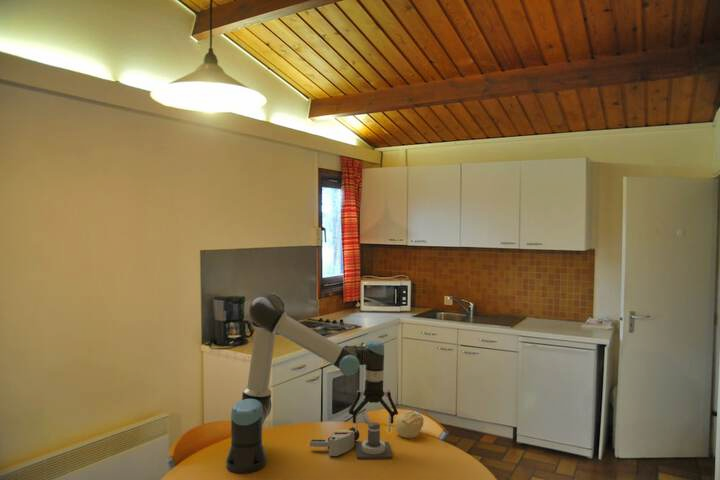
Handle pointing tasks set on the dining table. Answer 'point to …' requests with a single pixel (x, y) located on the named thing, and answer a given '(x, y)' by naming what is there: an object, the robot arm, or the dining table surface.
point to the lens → (373, 435)
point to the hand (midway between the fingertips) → (372, 431)
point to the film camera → (338, 441)
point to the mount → (373, 451)
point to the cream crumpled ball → (409, 424)
